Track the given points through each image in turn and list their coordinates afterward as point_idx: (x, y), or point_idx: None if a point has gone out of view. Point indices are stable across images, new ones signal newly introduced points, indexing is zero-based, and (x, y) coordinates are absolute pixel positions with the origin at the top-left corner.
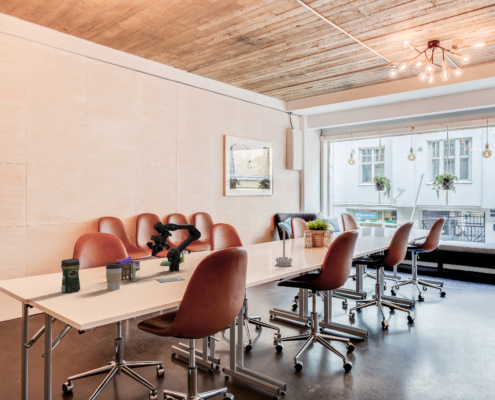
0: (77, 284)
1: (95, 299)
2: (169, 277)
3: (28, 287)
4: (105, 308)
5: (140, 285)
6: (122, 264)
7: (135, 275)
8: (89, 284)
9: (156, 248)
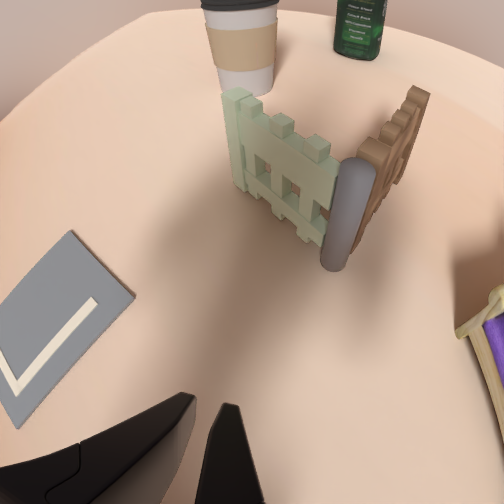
0: (335, 29)
1: None
2: (55, 372)
3: (484, 71)
4: (149, 32)
5: (158, 149)
6: (393, 114)
7: (229, 153)
8: None
9: (15, 496)
